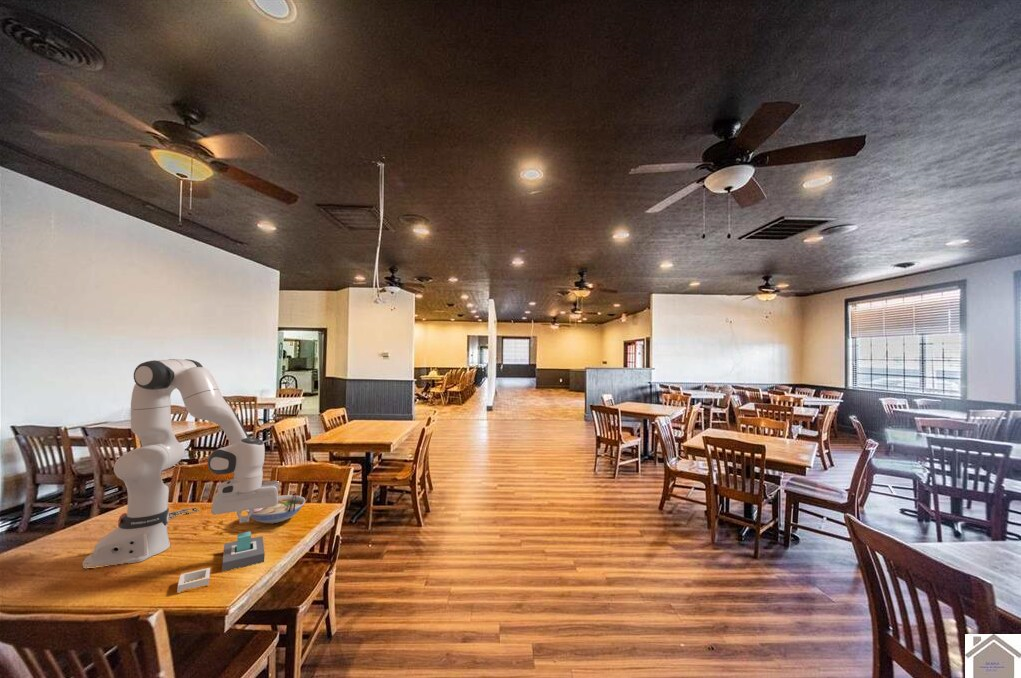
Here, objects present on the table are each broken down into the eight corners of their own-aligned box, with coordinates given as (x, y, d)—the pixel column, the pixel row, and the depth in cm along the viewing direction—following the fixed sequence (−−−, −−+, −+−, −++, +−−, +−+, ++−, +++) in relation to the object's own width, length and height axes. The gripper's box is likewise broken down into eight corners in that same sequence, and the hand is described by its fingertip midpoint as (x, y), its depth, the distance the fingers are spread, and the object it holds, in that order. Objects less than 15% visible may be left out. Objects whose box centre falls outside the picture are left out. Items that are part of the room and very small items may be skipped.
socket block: (222, 571, 129) (222, 561, 129) (223, 552, 142) (224, 542, 142) (264, 562, 136) (264, 552, 136) (262, 543, 149) (262, 535, 149)
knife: (137, 534, 152) (116, 531, 153) (136, 538, 152) (116, 535, 153) (203, 508, 180) (185, 505, 181) (203, 512, 180) (185, 509, 181)
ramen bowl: (250, 514, 177) (251, 496, 177) (306, 507, 186) (307, 490, 187) (238, 536, 154) (240, 516, 155) (302, 527, 164) (303, 508, 164)
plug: (236, 561, 136) (237, 538, 136) (236, 556, 139) (237, 533, 140) (249, 558, 138) (251, 535, 139) (249, 553, 142) (250, 531, 142)
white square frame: (177, 594, 116) (177, 585, 117) (180, 582, 122) (180, 574, 123) (208, 586, 121) (208, 578, 121) (209, 575, 127) (210, 567, 127)
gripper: (279, 477, 149) (276, 513, 148) (214, 484, 137) (209, 524, 136) (281, 482, 144) (277, 519, 143) (213, 489, 132) (208, 530, 131)
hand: (244, 521), depth 140 cm, fingers closed
